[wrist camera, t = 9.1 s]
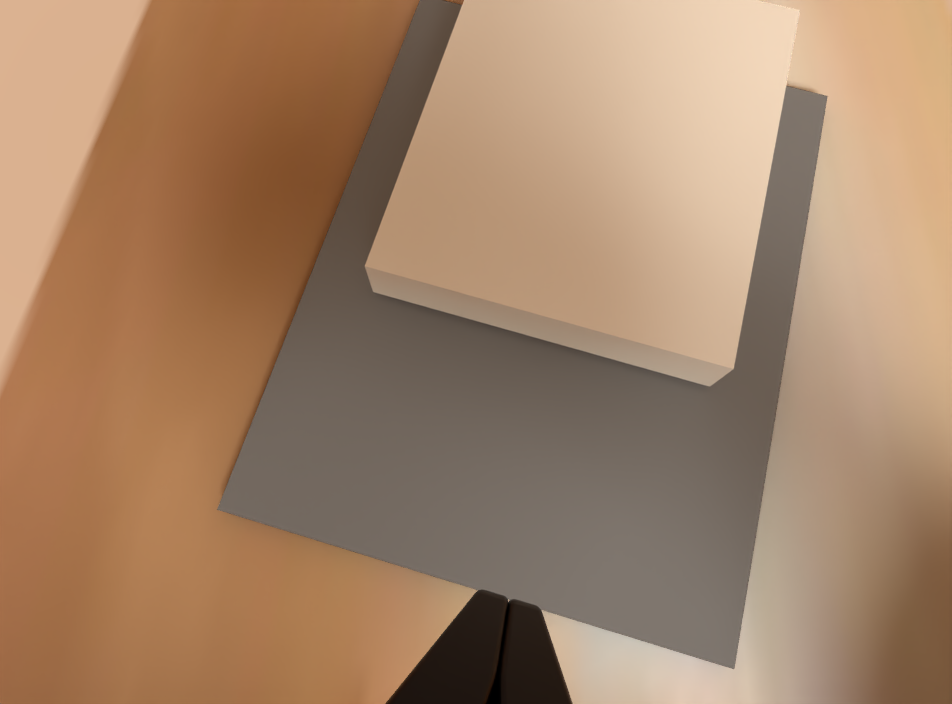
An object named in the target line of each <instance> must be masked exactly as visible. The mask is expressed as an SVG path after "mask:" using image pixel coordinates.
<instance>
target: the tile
mask: <svg viewBox="0 0 952 704" xmlns="http://www.w3.org/2000/svg"><path fill="white" fill-rule="evenodd" d="M799 14H800V10H797V9H793V8H789V7H785V6H780V5H776V4H772V3H768V2H764V1H760V0H464V2H463V4H462V7H461V10H460V12H459V15H458V18H457V20H456V23H455V26H454V28H453V31H452V34H451V37H450V39H449V42H448V45H447V47H446V50H445V53H444V55H443V58H442V61H441V63H440V66H439V69H438V71H437V74H436V77H435V79H434V82H433V85H432V87H431V90H430V93H429V95H428V98H427V101H426V103H425V106H424V109H423V111H422V114H421V117H420V120H419V122H418V125H417V128H416V130H415V133H414V136H413V138H412V141H411V144H410V146H409V149H408V152H407V154H406V157H405V160H404V162H403V165H402V168H401V170H400V173H399V176H398V178H397V181H396V184H395V186H394V189H393V192H392V195H391V197H390V200H389V203H388V205H387V208H386V211H385V213H384V216H383V219H382V221H381V224H380V227H379V229H378V232H377V235H376V237H375V240H374V243H373V245H372V248H371V251H370V253H369V256H368V259H367V261H366V264H365V269H366V272H367V275H368V278H369V281H370V284H371V287H372V290H373V292H375V293H379V294H382V295H386V296H389V297H393V298H396V299H400V300H403V301H407V302H411V303H414V304H418V305H421V306H425V307H428V308H432V309H435V310H439V311H443V312H446V313H450V314H453V315H457V316H460V317H464V318H467V319H471V320H475V321H478V322H482V323H485V324H489V325H492V326H496V327H499V328H503V329H507V330H510V331H514V332H517V333H521V334H524V335H528V336H531V337H535V338H539V339H542V340H546V341H549V342H553V343H556V344H560V345H563V346H567V347H571V348H574V349H578V350H581V351H585V352H588V353H592V354H595V355H599V356H602V357H606V358H610V359H613V360H617V361H620V362H624V363H627V364H631V365H634V366H638V367H642V368H645V369H649V370H652V371H656V372H659V373H663V374H666V375H670V376H674V377H677V378H681V379H684V380H688V381H691V382H695V383H698V384H702V385H706V386H709V387H710V386H711V385H713V384H714V383H715V382H717V381H718V380H719V379H721V378H722V377H724V376H725V375H726V374H728V373H729V372H730V371H732V370H733V369H734V364H735V359H736V354H737V348H738V343H739V338H740V332H741V327H742V321H743V316H744V311H745V305H746V300H747V294H748V289H749V284H750V278H751V273H752V267H753V262H754V257H755V251H756V246H757V241H758V235H759V230H760V224H761V219H762V214H763V208H764V203H765V197H766V192H767V187H768V181H769V176H770V170H771V165H772V160H773V154H774V149H775V143H776V138H777V133H778V127H779V122H780V117H781V111H782V106H783V100H784V95H785V90H786V84H787V79H788V73H789V68H790V63H791V57H792V52H793V46H794V41H795V36H796V30H797V25H798V19H799Z"/></svg>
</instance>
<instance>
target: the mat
mask: <svg viewBox="0 0 952 704" xmlns="http://www.w3.org/2000/svg"><path fill="white" fill-rule="evenodd" d="M461 7H462V5H460V4H456V3H452V2H448V1H444V0H420V1H419V4H418V6H417V9H416V11H415V14H414V16H413V19H412V21H411V24H410V26H409V29H408V31H407V34H406V36H405V39H404V41H403V44H402V47H401V49H400V52H399V54H398V57H397V59H396V62H395V64H394V67H393V69H392V72H391V74H390V77H389V79H388V82H387V84H386V87H385V89H384V92H383V94H382V97H381V99H380V102H379V104H378V107H377V109H376V112H375V114H374V117H373V119H372V122H371V124H370V127H369V129H368V132H367V134H366V137H365V139H364V142H363V144H362V147H361V150H360V152H359V155H358V157H357V160H356V162H355V165H354V167H353V170H352V172H351V175H350V177H349V180H348V182H347V185H346V187H345V190H344V192H343V195H342V197H341V200H340V202H339V205H338V207H337V210H336V212H335V215H334V217H333V220H332V222H331V225H330V227H329V230H328V232H327V235H326V237H325V240H324V242H323V245H322V248H321V250H320V253H319V255H318V258H317V260H316V263H315V265H314V268H313V270H312V273H311V275H310V278H309V280H308V283H307V285H306V288H305V290H304V293H303V295H302V298H301V300H300V303H299V305H298V308H297V310H296V313H295V315H294V318H293V320H292V323H291V325H290V328H289V330H288V333H287V335H286V338H285V340H284V343H283V345H282V348H281V351H280V353H279V356H278V358H277V361H276V363H275V366H274V368H273V371H272V373H271V376H270V378H269V381H268V383H267V386H266V388H265V391H264V393H263V396H262V398H261V401H260V403H259V406H258V408H257V411H256V413H255V416H254V418H253V421H252V423H251V426H250V428H249V431H248V433H247V436H246V438H245V441H244V443H243V446H242V449H241V451H240V454H239V456H238V459H237V461H236V464H235V466H234V469H233V471H232V474H231V476H230V479H229V481H228V484H227V486H226V489H225V491H224V494H223V496H222V499H221V501H220V504H219V506H218V509H217V510H220V511H223V512H227V513H230V514H233V515H236V516H240V517H243V518H246V519H249V520H253V521H256V522H259V523H262V524H265V525H269V526H272V527H275V528H278V529H282V530H285V531H288V532H291V533H295V534H298V535H301V536H304V537H308V538H311V539H314V540H317V541H321V542H324V543H327V544H330V545H334V546H337V547H340V548H343V549H346V550H350V551H353V552H356V553H359V554H363V555H366V556H369V557H372V558H376V559H379V560H382V561H385V562H389V563H392V564H395V565H398V566H402V567H405V568H408V569H411V570H415V571H418V572H421V573H424V574H428V575H431V576H434V577H437V578H440V579H444V580H447V581H450V582H453V583H457V584H460V585H463V586H466V587H470V588H473V589H476V590H481V589H483V590H487V591H490V592H494V593H497V594H500V595H504V596H506V597H507V599H509V600H512V599H517V600H520V601H524V602H527V603H530V604H534V605H536V606H538V607H539V608H540V609H541V610H544V611H547V612H551V613H554V614H557V615H560V616H564V617H567V618H570V619H573V620H577V621H580V622H583V623H586V624H590V625H593V626H596V627H599V628H602V629H606V630H609V631H612V632H615V633H619V634H622V635H625V636H628V637H632V638H635V639H638V640H641V641H645V642H648V643H651V644H654V645H658V646H661V647H664V648H667V649H671V650H674V651H677V652H680V653H683V654H687V655H690V656H693V657H696V658H700V659H703V660H706V661H709V662H713V663H716V664H719V665H722V666H726V667H729V668H732V669H734V667H735V661H736V655H737V649H738V643H739V636H740V630H741V624H742V618H743V612H744V606H745V600H746V593H747V587H748V581H749V575H750V569H751V563H752V557H753V550H754V544H755V538H756V532H757V526H758V520H759V513H760V507H761V501H762V495H763V489H764V483H765V477H766V470H767V464H768V458H769V452H770V446H771V440H772V434H773V427H774V421H775V415H776V409H777V403H778V397H779V391H780V384H781V378H782V372H783V366H784V360H785V354H786V348H787V341H788V335H789V329H790V323H791V317H792V311H793V305H794V298H795V292H796V286H797V280H798V274H799V268H800V262H801V255H802V249H803V243H804V237H805V231H806V225H807V219H808V212H809V206H810V200H811V194H812V188H813V182H814V176H815V169H816V163H817V157H818V151H819V145H820V139H821V133H822V126H823V120H824V114H825V108H826V102H827V96H825V95H821V94H817V93H813V92H809V91H805V90H801V89H797V88H793V87H789V86H786V90H785V95H784V100H783V106H782V111H781V117H780V122H779V127H778V133H777V138H776V143H775V149H774V154H773V160H772V165H771V170H770V176H769V181H768V187H767V192H766V197H765V203H764V208H763V214H762V219H761V224H760V230H759V235H758V241H757V246H756V251H755V257H754V262H753V267H752V273H751V278H750V284H749V289H748V294H747V300H746V305H745V311H744V316H743V321H742V327H741V332H740V338H739V343H738V348H737V354H736V359H735V364H734V369H733V370H732V371H730V372H729V373H728V374H726V375H725V376H724V377H722V378H721V379H719V380H718V381H717V382H715V383H714V384H713V385H711V386H710V387H709V386H706V385H702V384H698V383H695V382H691V381H688V380H684V379H681V378H677V377H674V376H670V375H666V374H663V373H659V372H656V371H652V370H649V369H645V368H642V367H638V366H634V365H631V364H627V363H624V362H620V361H617V360H613V359H610V358H606V357H602V356H599V355H595V354H592V353H588V352H585V351H581V350H578V349H574V348H571V347H567V346H563V345H560V344H556V343H553V342H549V341H546V340H542V339H539V338H535V337H531V336H528V335H524V334H521V333H517V332H514V331H510V330H507V329H503V328H499V327H496V326H492V325H489V324H485V323H482V322H478V321H475V320H471V319H467V318H464V317H460V316H457V315H453V314H450V313H446V312H443V311H439V310H435V309H432V308H428V307H425V306H421V305H418V304H414V303H411V302H407V301H403V300H400V299H396V298H393V297H389V296H386V295H382V294H379V293H375V292H373V290H372V287H371V284H370V281H369V278H368V275H367V272H366V269H365V264H366V261H367V259H368V256H369V253H370V251H371V248H372V245H373V243H374V240H375V237H376V235H377V232H378V229H379V227H380V224H381V221H382V219H383V216H384V213H385V211H386V208H387V205H388V203H389V200H390V197H391V195H392V192H393V189H394V186H395V184H396V181H397V178H398V176H399V173H400V170H401V168H402V165H403V162H404V160H405V157H406V154H407V152H408V149H409V146H410V144H411V141H412V138H413V136H414V133H415V130H416V128H417V125H418V122H419V120H420V117H421V114H422V111H423V109H424V106H425V103H426V101H427V98H428V95H429V93H430V90H431V87H432V85H433V82H434V79H435V77H436V74H437V71H438V69H439V66H440V63H441V61H442V58H443V55H444V53H445V50H446V47H447V45H448V42H449V39H450V37H451V34H452V31H453V28H454V26H455V23H456V20H457V18H458V15H459V12H460V10H461Z"/></svg>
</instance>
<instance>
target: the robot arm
mask: <svg viewBox="0 0 952 704" xmlns="http://www.w3.org/2000/svg"><path fill="white" fill-rule="evenodd" d="M386 704H572V701H571V698H570V695H569V692H568V689H567V686H566V683H565V680H564V677H563V674H562V671H561V668H560V665H559V662H558V659H557V656H556V653H555V650H554V647H553V644H552V641H551V638H550V635H549V632H548V629H547V626H546V623H545V620H544V617H543V614H542V611H541V609H540V608H539V607H538V606H536V605H534V604H530V603H527V602H524V601H520V600H517V599H512V600H510V601H509V602H508V599H507V597H506V596H504V595H500V594H497V593H494V592H490V591H487V590H483V589H481V590H479V591H477V592H476V593H475V594H474V595H473V597H472V598H471V599H470V600H469V602H468V603H467V604H466V605H465V607H464V608H463V609H462V610H461V611H460V613H459V614H458V615H457V616H456V618H455V619H454V620H453V621H452V623H451V624H450V625H449V626H448V627H447V629H446V630H445V631H444V632H443V634H442V635H441V636H440V637H439V638H438V640H437V641H436V642H435V643H434V645H433V646H432V647H431V648H430V650H429V651H428V652H427V653H426V654H425V656H424V657H423V658H422V659H421V661H420V662H419V663H418V664H417V666H416V667H415V668H414V669H413V670H412V672H411V673H410V674H409V675H408V677H407V678H406V679H405V680H404V681H403V683H402V684H401V685H400V686H399V688H398V689H397V690H396V691H395V693H394V694H393V695H392V696H391V697H390V699H389V700H388V701H387V702H386Z"/></svg>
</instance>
